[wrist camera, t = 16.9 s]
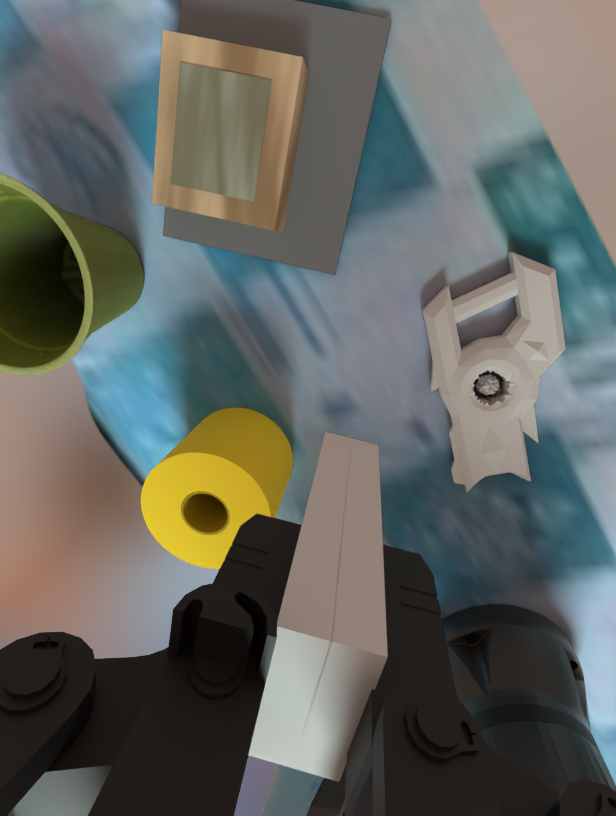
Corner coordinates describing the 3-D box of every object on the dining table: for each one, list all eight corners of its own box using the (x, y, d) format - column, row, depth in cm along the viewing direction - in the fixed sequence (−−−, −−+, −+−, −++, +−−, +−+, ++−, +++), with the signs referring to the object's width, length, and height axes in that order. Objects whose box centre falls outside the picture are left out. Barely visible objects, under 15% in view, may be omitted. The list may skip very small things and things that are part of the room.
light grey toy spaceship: (588, 480, 33) (455, 501, 35) (570, 462, 36) (449, 482, 38) (557, 239, 29) (408, 281, 31) (540, 243, 32) (406, 281, 34)
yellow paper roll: (218, 513, 43) (179, 580, 34) (172, 426, 40) (117, 475, 31) (309, 487, 40) (292, 551, 32) (266, 392, 38) (235, 435, 29)
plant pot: (45, 328, 39) (-77, 356, 28) (37, 183, 34) (-110, 152, 24) (169, 354, 38) (92, 392, 27) (177, 209, 33) (89, 188, 23)
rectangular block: (302, 56, 26) (162, 29, 26) (274, 230, 30) (151, 203, 30) (309, 76, 29) (182, 51, 29) (282, 232, 32) (170, 207, 33)
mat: (335, 274, 33) (334, 274, 33) (166, 236, 34) (163, 235, 34) (390, 23, 28) (391, 18, 27) (186, -16, 28) (182, -21, 28)
